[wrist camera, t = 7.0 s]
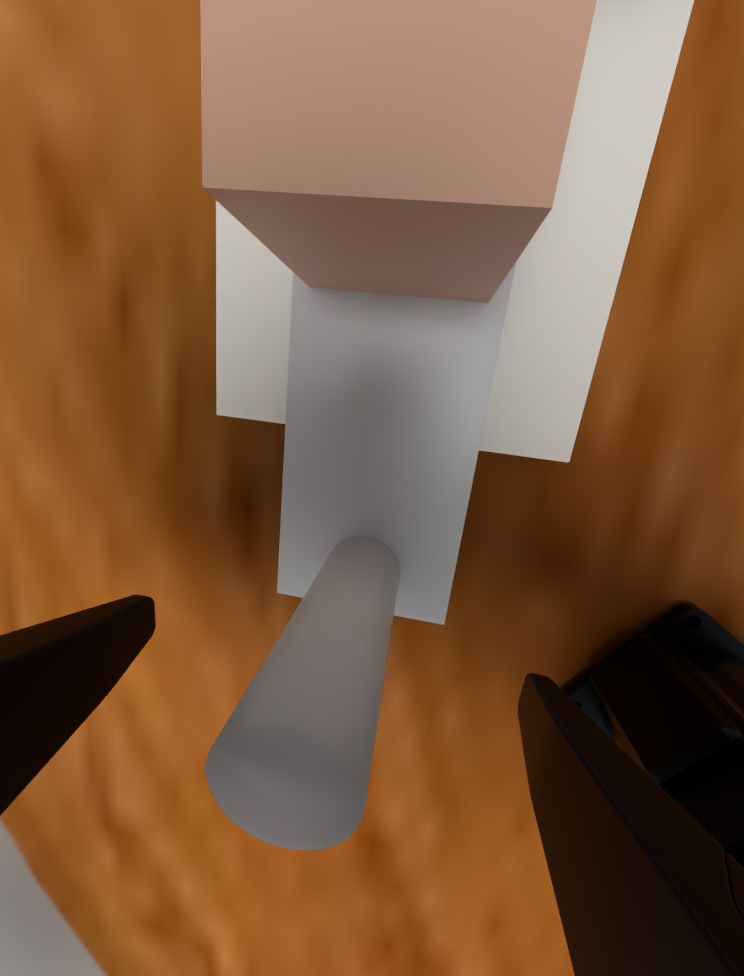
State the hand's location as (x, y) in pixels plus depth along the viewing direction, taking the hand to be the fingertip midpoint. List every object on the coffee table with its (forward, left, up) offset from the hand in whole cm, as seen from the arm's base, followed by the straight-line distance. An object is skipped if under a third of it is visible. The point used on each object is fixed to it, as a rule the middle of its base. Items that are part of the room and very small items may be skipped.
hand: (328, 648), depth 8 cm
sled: (+3, -5, -5) cm, 8 cm away
